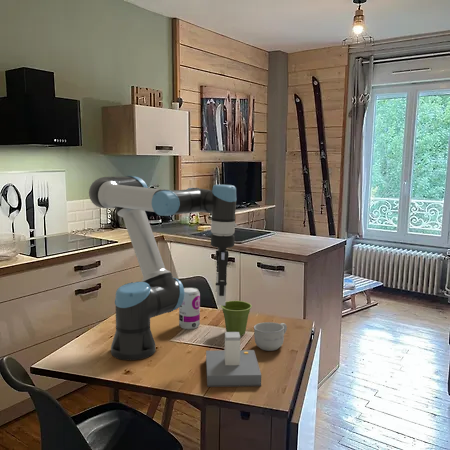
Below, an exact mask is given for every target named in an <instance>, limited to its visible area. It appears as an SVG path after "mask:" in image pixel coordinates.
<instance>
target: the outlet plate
mask: <svg viewBox="0 0 450 450" xmlns="http://www.w3.org/2000/svg"><path fill="white" fill-rule="evenodd" d="M224 355H225V349H223V350H219V349H218V350H205V366H206V367H205V368H206V384H207V385H206V387H207V388H215V387H216V388H220V387H224V388H225V387H226V388H227V387H229V388H230V387H237V388H238V387H262V373H261V369H260V366H259V361H258V359H257V356H256V351H255V350H254V349H249V350H247V349H244V350H243V349H240V365H225V360H224Z"/></svg>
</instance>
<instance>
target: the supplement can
mask: <svg viewBox="0 0 450 450" xmlns="http://www.w3.org/2000/svg"><path fill="white" fill-rule="evenodd" d="M184 293H185V295H184V300H183V303H182V305H181V306H180V307H179V308H178V325H179V327H180V328H181V329H183V330H194V329H197V328H198V327H200V317H201V315H200V314H201V311H200V310H201V293H200V291H199V289H198V288H196V287H184Z"/></svg>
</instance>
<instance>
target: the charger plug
mask: <svg viewBox="0 0 450 450" xmlns="http://www.w3.org/2000/svg"><path fill="white" fill-rule="evenodd" d="M224 350H225V355H224V360H225V365H240V350H241V336H240V334H239V332H226V331H224Z"/></svg>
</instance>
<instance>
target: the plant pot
mask: <svg viewBox="0 0 450 450" xmlns="http://www.w3.org/2000/svg"><path fill="white" fill-rule="evenodd" d="M220 307H221V309H222V313H223V319H224V325H225V330H226V331H225V332H239V334H240V337H242V336H244V335H245V334H246V330H247V325H248V319H249V315H250V312H251V309H252V307H253V305H252V304H251V303H250V302H247V301H243V300H228V301H227V300H226V303H225V306H222V305H220Z"/></svg>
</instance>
